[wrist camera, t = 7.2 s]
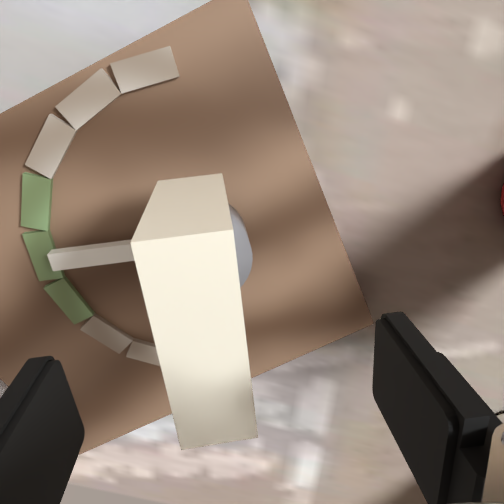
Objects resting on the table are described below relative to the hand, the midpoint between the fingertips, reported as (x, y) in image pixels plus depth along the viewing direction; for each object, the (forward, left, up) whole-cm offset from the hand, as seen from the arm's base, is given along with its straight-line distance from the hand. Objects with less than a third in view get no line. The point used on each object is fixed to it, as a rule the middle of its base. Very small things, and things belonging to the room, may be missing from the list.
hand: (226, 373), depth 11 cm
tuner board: (0, +4, -11) cm, 12 cm away
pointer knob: (+2, +3, -9) cm, 10 cm away
